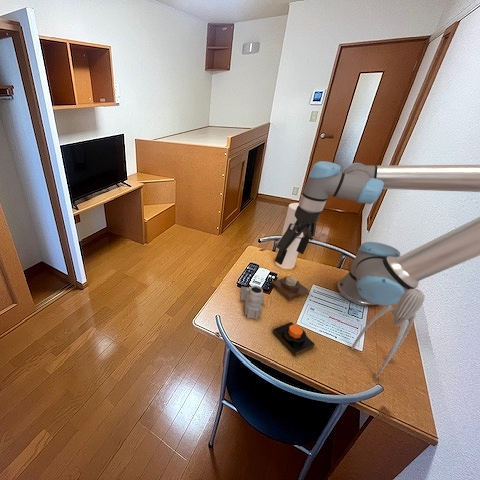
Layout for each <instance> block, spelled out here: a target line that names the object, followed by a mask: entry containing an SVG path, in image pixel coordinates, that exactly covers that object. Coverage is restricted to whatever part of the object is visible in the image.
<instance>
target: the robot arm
mask: <svg viewBox="0 0 480 480" xmlns="http://www.w3.org/2000/svg"><path fill="white" fill-rule="evenodd" d="M341 168H342V167H341V165H339V164H337V163H335V162H331V161H325V160H324V161H323V160H322V161H321V160H320V161H317V162H315V163H314V164H313V165H312V168H311V170H310V172H309V175H308V177H307V180H306V183H305V185H304V189H303V190H302V194H301V195H300V199H299V200H298V201H299V202H298V203H299V206H297V209H296V211H295V214H294V215H295V217H296V219H297V221H296V222H295V223H294V224H292V223H290V224H289V227H288V229H287V230H286V232H285V234H284V235H283V237H282V238H281V237H280V240H279V241H278V243H277V244H276V246H275V248H276V249H277V252H278V253H276V256H275V259H274V262H275V261H276V262H277V263H279V264H280V265H282V263H283V261H284V258H285V255H286V253H287V250H286V249H287V248H288V247H289V246H290V245H291V243H292V242H293V241H294V240H295V238H296V237H297V236H300V234H301V233H302V232H303V237H302V238H301V241H300V243H299V245H298V248H297V250H296V251H297V252H298V254H301V255H304V253H305V251H306V249H307V247H308V244H309V242H310V241H313V240H314V237H315V236H316V230H317V223H318V221H319V218H320V216H321V214H322V211H323V210H324V207H325V205H326V203H327V200H328V198H329V196H331V197H334V198H338V199H342V200H347V201H351V202H355V203H358V204H366V205H372V204H374V203H376V202H377V200H378V199H379V197H380V196H381V194H382V192H383V190H400V191H401V190H403V191H405V190H406V191H432V192H433V191H438V192H442V191H443V192H464V193H465V192H467V193H469V192H470V193H480V164H414V165H413V164H411V165H410V164H409V165H407V164H404V165H402V164H401V165H400V164H399V165H397V164H396V165H394V164H393V165H366V164H364V163H362V162H353V163H350V164H348V165H346V166H345V167H344V168H343V170H342V171H341ZM297 232H298V233H297ZM278 249H279V251H278ZM357 250H358V251H357V252H356V255H355V257H354V259H353V262H352V264H351V266H350V268H349V271H348V273H346V275H345V276H343V277H342V278H341V279H340V280H339V281H338V282H337V285H336V290H337V292H338V293H339V295H341V296H342V297H343V298H344V299H345V300H347V301H349V302H351V303H352V304H355V305H358V306H361V307H366V308H374V307H378V306H382V307H388V306H389V305H391V306H395V305H396V306H397V304H398V301H399V299H400V298H401V296H402V295H403V293H404V292H405V291H407V290H409V289H418V287H419V283H420V282H421V281H422V280H425V279H428V278H429V277H432V276H434V275H436V274H439V273H441V272H444V271H446V270H448V269H451V268H453V267H456V266H458V265H461V264H464V263H465V262H467V261H470V260H472V259H475V258H478V257H479V256H480V216H479V217H476V218H474V219H472V220H470V221H467V222H466V223H464V224H462V225H460V226H457V227H456V228H454V229H452V230H450V231H448V232H446V233H444V234H442V235H440V236H438V237H436V238H434V239H432V240H430V241H428V242H425V243H424V244H421V245H420V246H418V247H416V248H414V249H411V250H409V251H408V252H406V253H403V254H402V255H401V252H400V251H399V250H398V249H397V248H396V247H393V246H391V245H389V244H386V243H382V242H377V241H365V242H363V243H361V244H360V246H359V248H358V249H357Z"/></svg>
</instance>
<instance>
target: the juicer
mask: <svg viewBox="0 0 480 480" xmlns="http://www.w3.org/2000/svg"><path fill="white" fill-rule="evenodd" d="M425 298H426V297H425V293H424V292H422V291H421V290H420V289H419V288H415V289H409V290H407V291H405V292H404V293H403V295H402V296H401V298H400V299H399V301H398V304H396V307H395V309H394V307H393V305H389V306H385V307H384V308H383V309H382V310H380V311H379V312H378V313H376V314H375V315H374V316H373V317H372V318H371V319H370V320H369V321H368V322H367V323H366V324H365V326H364V327H363V328H362V329H361V331H360V333H359V334H358V336H357V337H356V339H355V340H354V342H353V344H352V346H351V347H350V349H351V350H354V349H355V348H356V345H357V344H358V342H359V341H361V338H362V337H363V335H364V334H365V333H366V332H367V330H368V329H369V328H370V327H371V326H372V325H373V323H375V322H376V321H377V320H378V319H379V318H381V317H382V316H383V315H385V314H387V313H391V314H392V315H393V328H396V327H399V328H398V332H397V335H396V338H395V339H394V342H393V344H392V346H391V348H390V350H389V352H388V355H387V356H386V358H385V360H384V362H383V363H382V365H381V367H380V369H379V370H378V372H377V374H376V375H375V377H374V379H375V380H377V378H378V377H379V376H380V375H381V374H382V372H383V370H384V369H385V367H386V366H387V364H388V363H389V362H391V360H392V359H393V358H394V356H395V355H396V354H397V352H398V351H399V349H400V348H401V346H402V344H403V343H404V341H405V339H406V338H407V336H408V334H409V333H410V331H411V329H412V326H413V325H414V321H415V318H416V316H417V315H416V314H417V312H418V311H419V310H420V308H422V305H423V303H424V301H425Z"/></svg>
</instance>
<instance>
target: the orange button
mask: <svg viewBox="0 0 480 480" xmlns="http://www.w3.org/2000/svg"><path fill="white" fill-rule="evenodd" d="M301 328H302V327H301V326H300V325H297V324H294V325H291V326H290V327H289V330H288V333H289V335H290V336H291V337H294V338H300V337H301V335H302V333H303V330H304V329H303V328H302V329H303V330H302V329H301Z"/></svg>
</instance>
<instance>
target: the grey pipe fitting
mask: <svg viewBox="0 0 480 480" xmlns="http://www.w3.org/2000/svg"><path fill="white" fill-rule="evenodd" d="M239 297H240V299H239V300H240V302H244V315H245V316H246V318H247V319H254V320H258V318H259V317H260V315H262V310H263V309H262V305H264V290H263V288H262V287H261V286H258V285H256V284H255V285H251V286H250V287H247V286H241V287H240V296H239Z"/></svg>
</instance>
